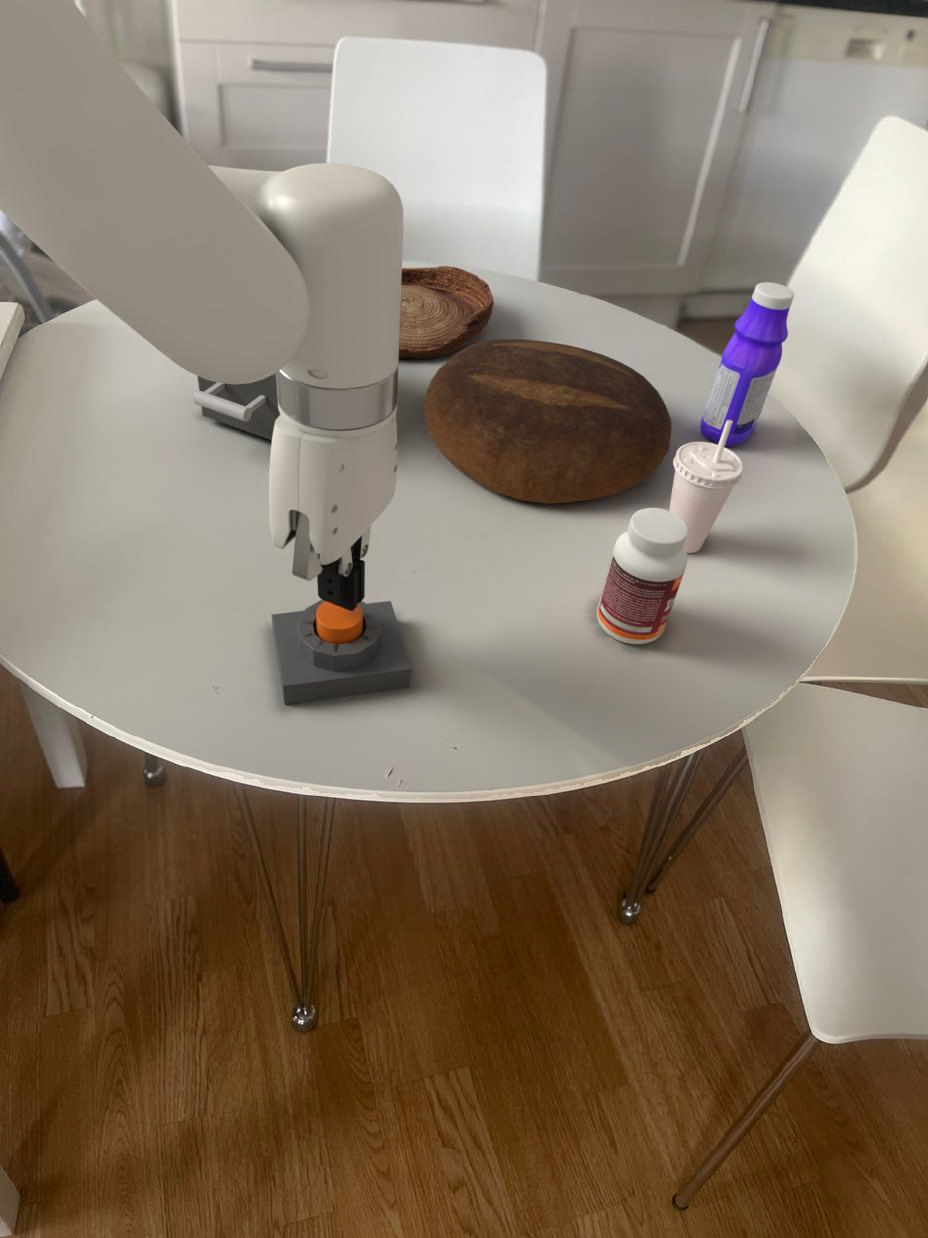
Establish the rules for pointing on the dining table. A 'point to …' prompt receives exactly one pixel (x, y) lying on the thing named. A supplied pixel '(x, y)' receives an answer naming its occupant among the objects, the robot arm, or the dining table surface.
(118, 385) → the dining table surface
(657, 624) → the pill bottle
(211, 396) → the fryer drawer
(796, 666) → the dining table surface
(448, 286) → the basket
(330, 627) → the button
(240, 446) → the dining table surface
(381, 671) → the control block
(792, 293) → the bottle
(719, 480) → the smoothie
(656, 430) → the bread
